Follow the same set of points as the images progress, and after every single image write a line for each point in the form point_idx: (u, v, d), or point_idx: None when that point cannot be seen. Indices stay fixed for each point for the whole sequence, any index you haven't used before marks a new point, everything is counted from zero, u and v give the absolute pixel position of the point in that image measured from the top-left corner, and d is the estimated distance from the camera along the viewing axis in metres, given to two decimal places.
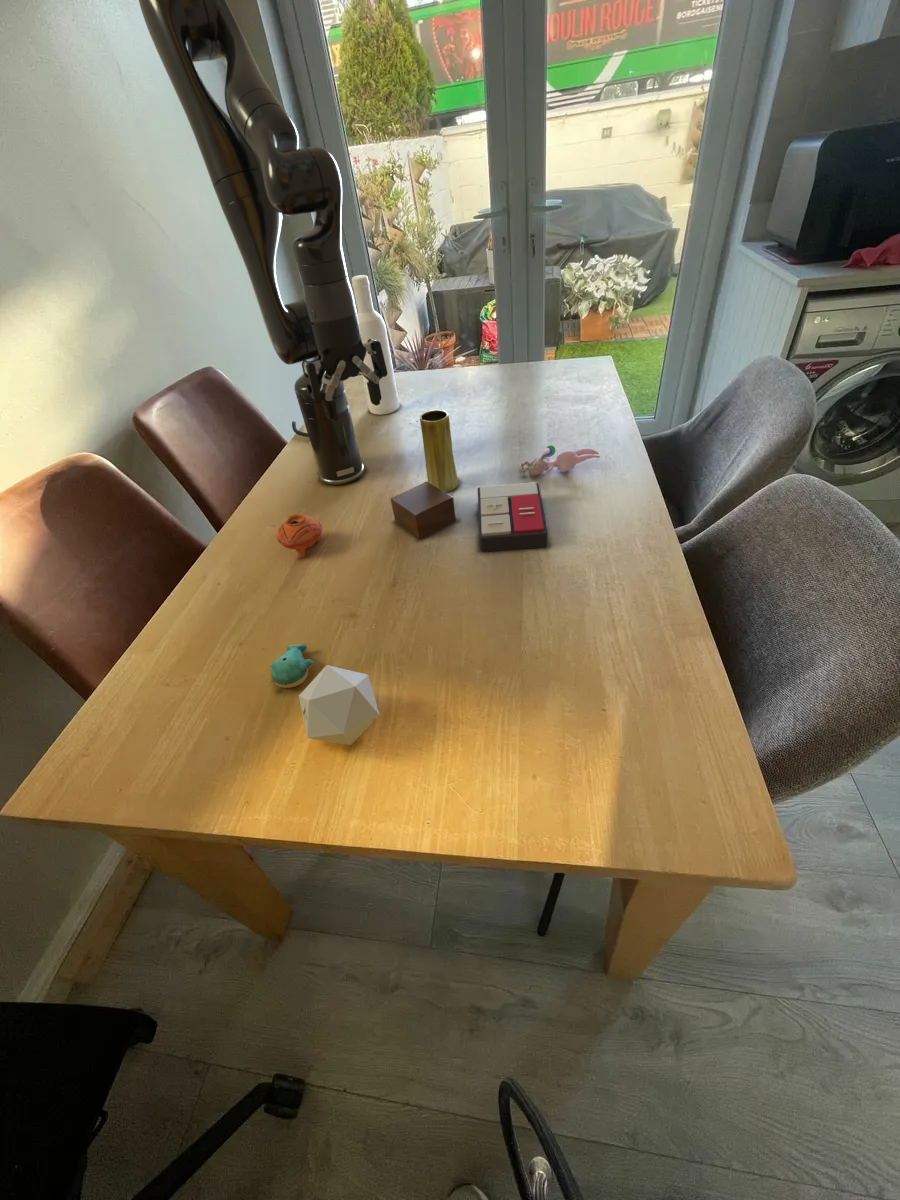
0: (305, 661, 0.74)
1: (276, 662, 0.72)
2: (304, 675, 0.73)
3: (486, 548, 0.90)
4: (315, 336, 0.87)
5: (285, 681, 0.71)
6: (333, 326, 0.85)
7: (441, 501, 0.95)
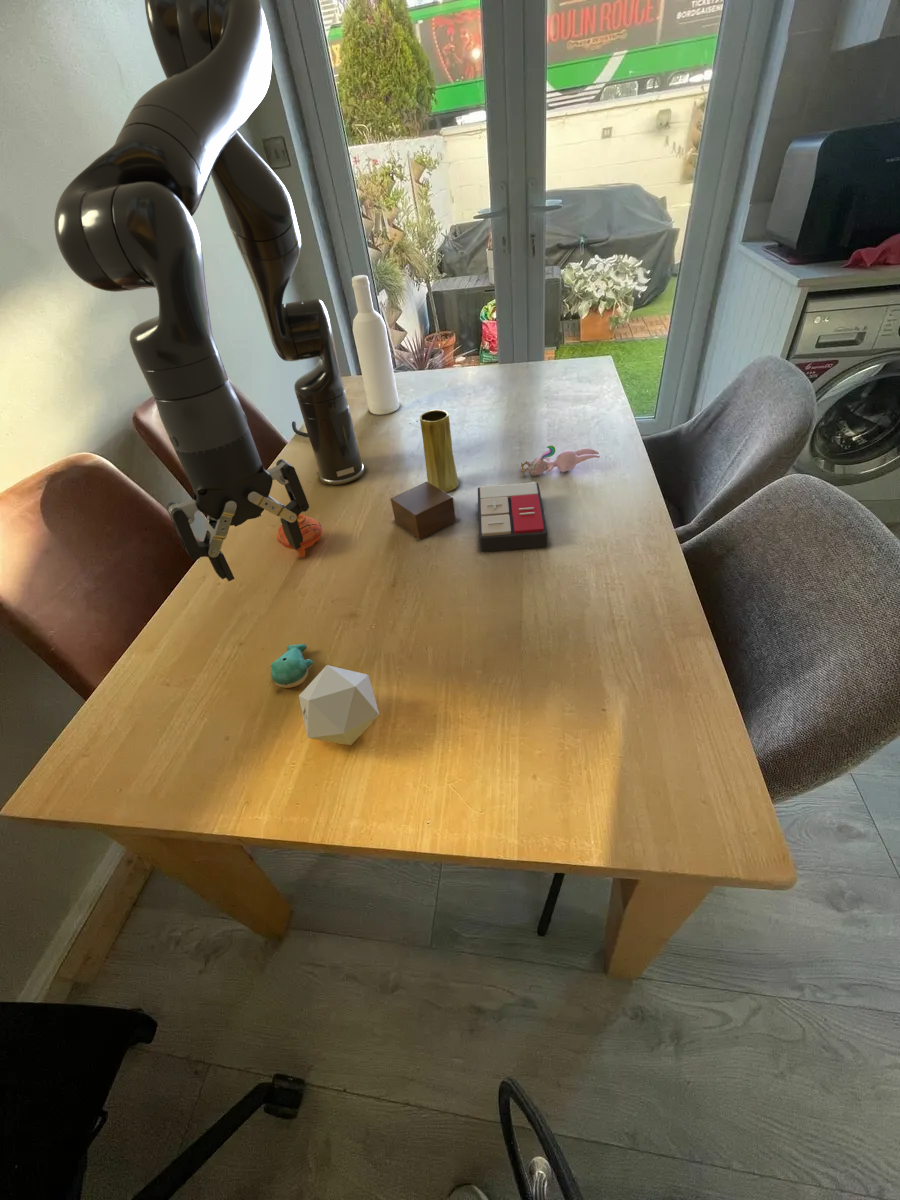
0: (305, 661, 0.74)
1: (276, 662, 0.72)
2: (304, 675, 0.73)
3: (486, 548, 0.90)
4: (184, 469, 0.56)
5: (285, 681, 0.71)
6: (206, 458, 0.53)
7: (441, 501, 0.95)
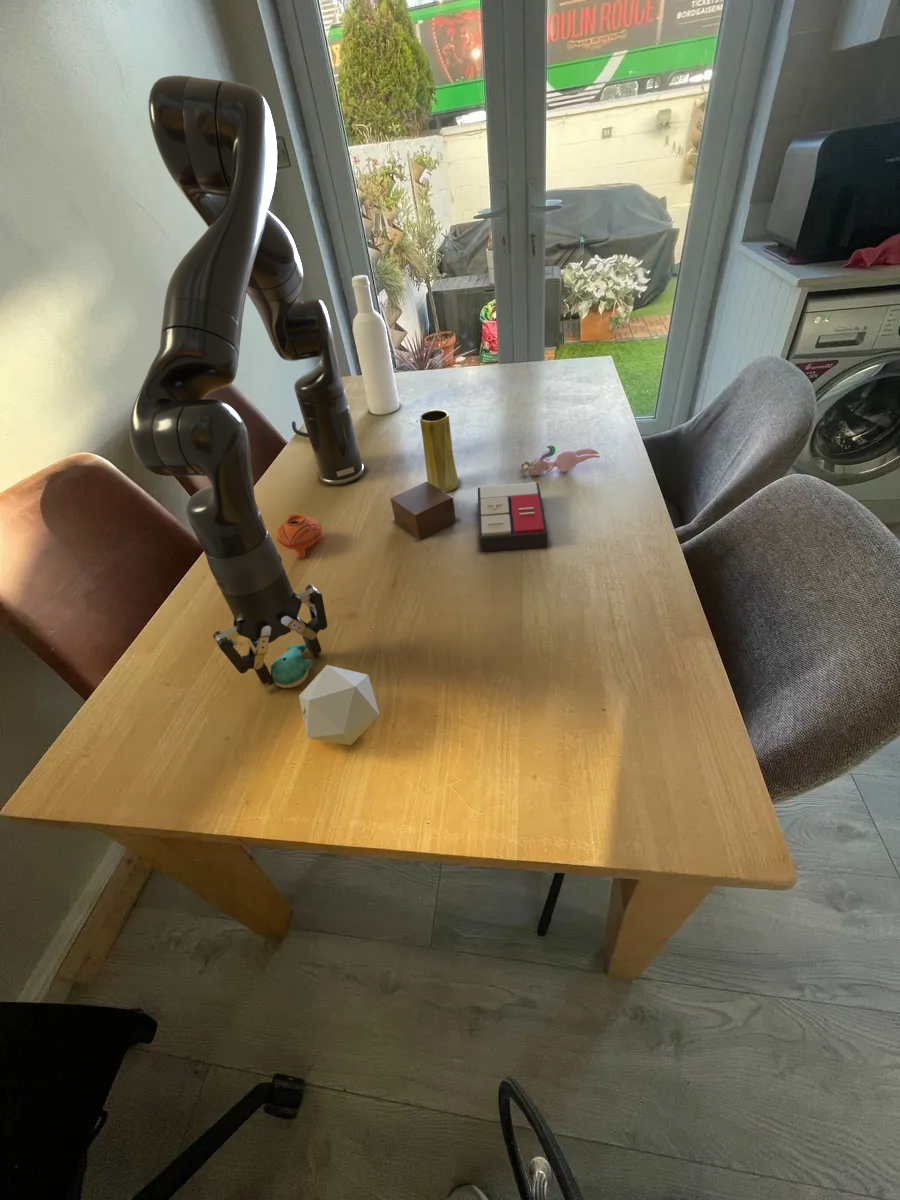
0: (305, 661, 0.74)
1: (276, 662, 0.72)
2: (304, 675, 0.73)
3: (486, 548, 0.90)
4: (227, 603, 0.64)
5: (285, 681, 0.71)
6: (248, 600, 0.62)
7: (441, 501, 0.95)
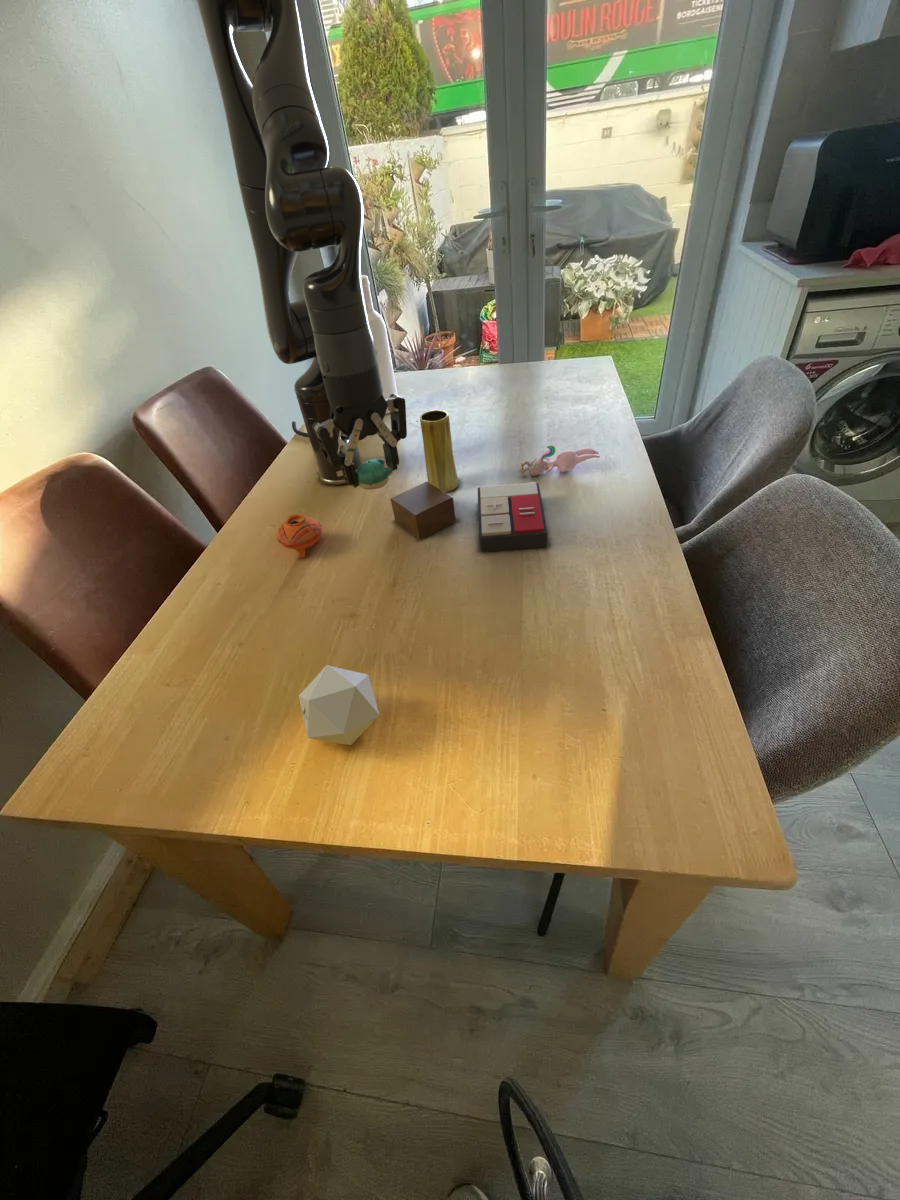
0: (386, 468, 0.82)
1: (362, 464, 0.80)
2: (386, 478, 0.81)
3: (486, 548, 0.90)
4: (327, 391, 0.72)
5: (370, 480, 0.79)
6: (349, 382, 0.70)
7: (441, 501, 0.95)
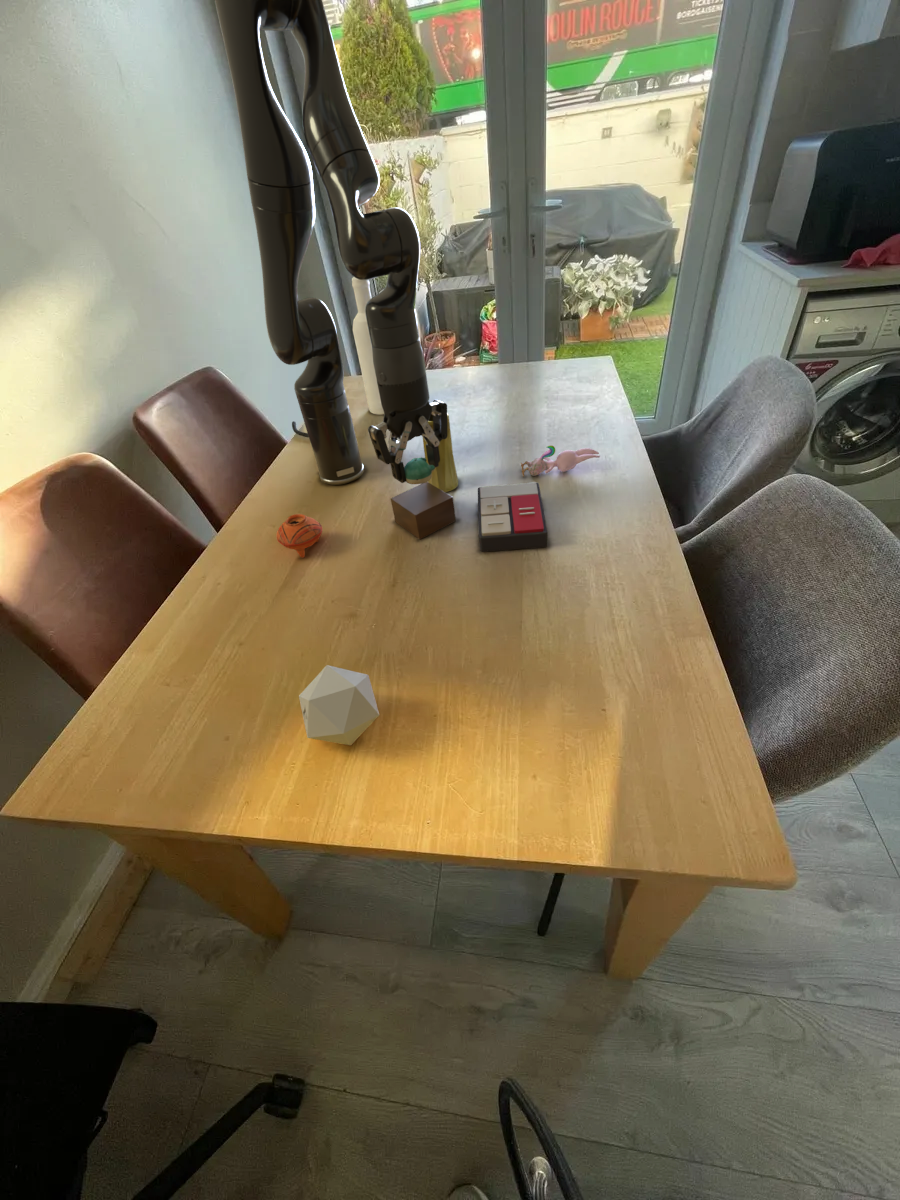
0: (429, 465, 0.92)
1: (409, 462, 0.90)
2: (430, 474, 0.91)
3: (486, 548, 0.90)
4: (382, 398, 0.83)
5: (417, 476, 0.90)
6: (403, 389, 0.80)
7: (441, 501, 0.95)
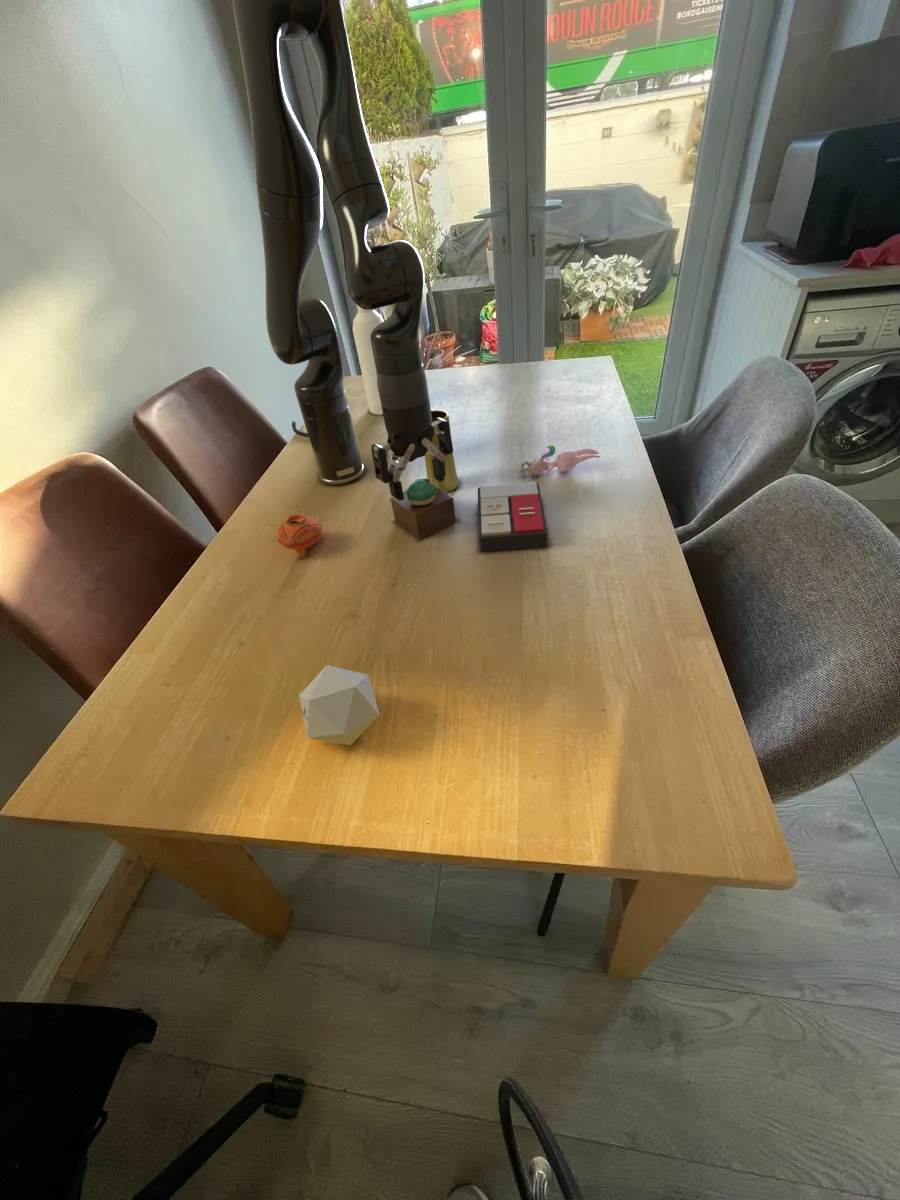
0: (432, 487, 0.95)
1: (413, 484, 0.93)
2: (433, 495, 0.94)
3: (486, 548, 0.90)
4: (386, 421, 0.85)
5: (420, 497, 0.92)
6: (407, 413, 0.83)
7: (441, 501, 0.95)
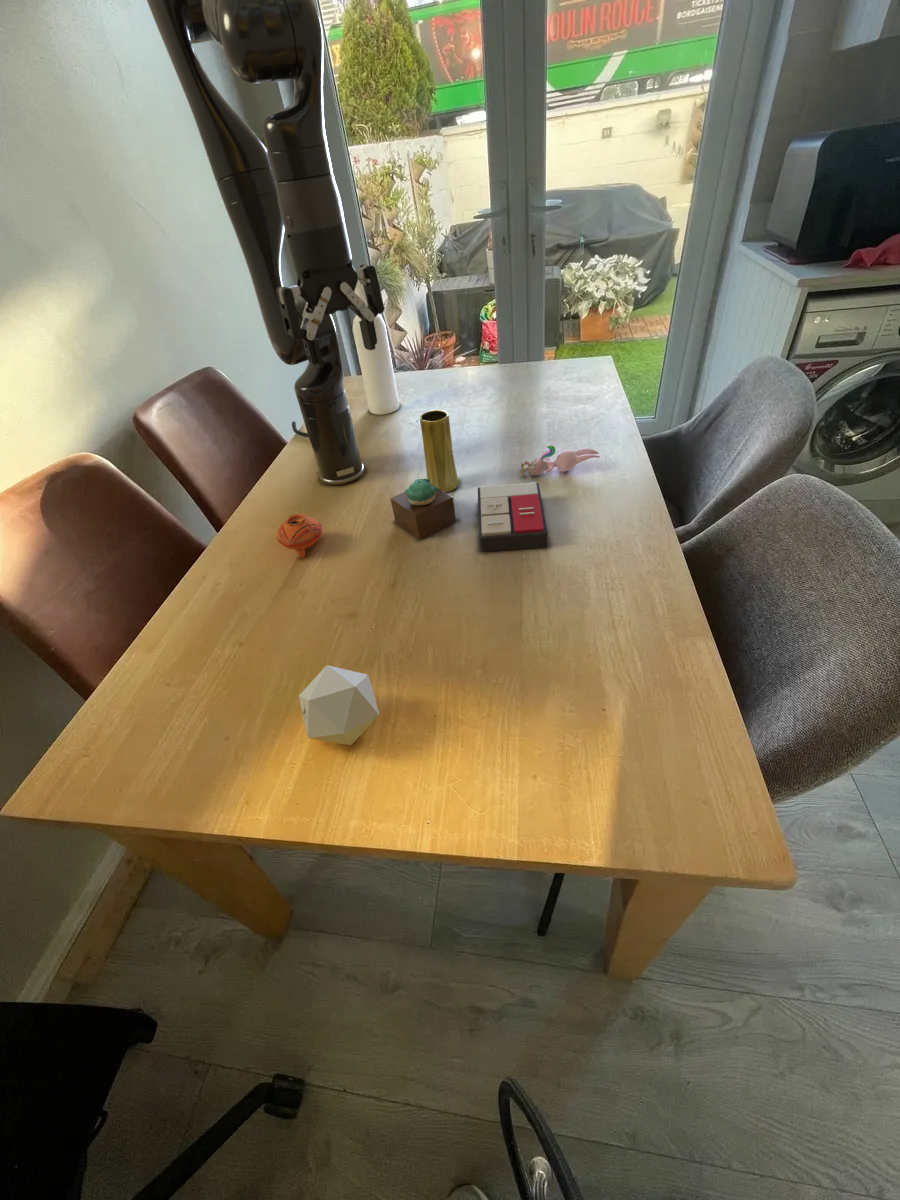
0: (432, 487, 0.95)
1: (413, 484, 0.93)
2: (433, 495, 0.94)
3: (486, 548, 0.90)
4: (293, 254, 0.69)
5: (420, 497, 0.92)
6: (315, 238, 0.66)
7: (441, 501, 0.95)
